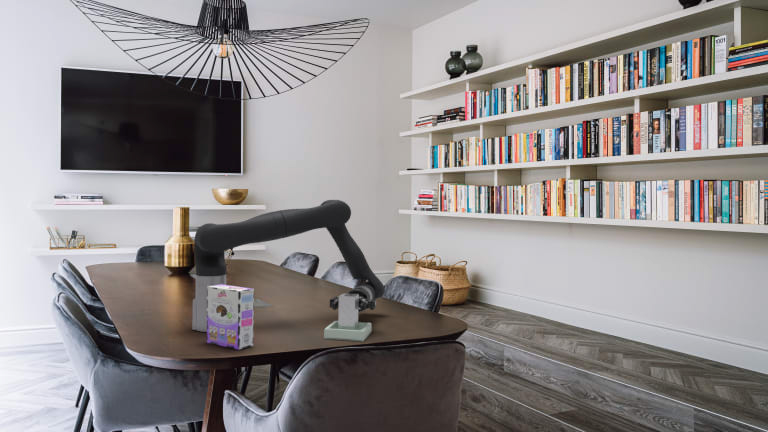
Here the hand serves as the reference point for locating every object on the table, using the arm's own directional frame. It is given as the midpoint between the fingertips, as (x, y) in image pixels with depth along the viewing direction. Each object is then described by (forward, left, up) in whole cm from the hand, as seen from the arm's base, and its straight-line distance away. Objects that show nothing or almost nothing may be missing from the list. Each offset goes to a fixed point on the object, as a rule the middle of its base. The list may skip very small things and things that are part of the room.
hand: (347, 307), depth 174 cm
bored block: (0, +2, -8) cm, 9 cm away
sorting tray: (0, +2, -9) cm, 9 cm away
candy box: (-30, -18, -9) cm, 36 cm away
